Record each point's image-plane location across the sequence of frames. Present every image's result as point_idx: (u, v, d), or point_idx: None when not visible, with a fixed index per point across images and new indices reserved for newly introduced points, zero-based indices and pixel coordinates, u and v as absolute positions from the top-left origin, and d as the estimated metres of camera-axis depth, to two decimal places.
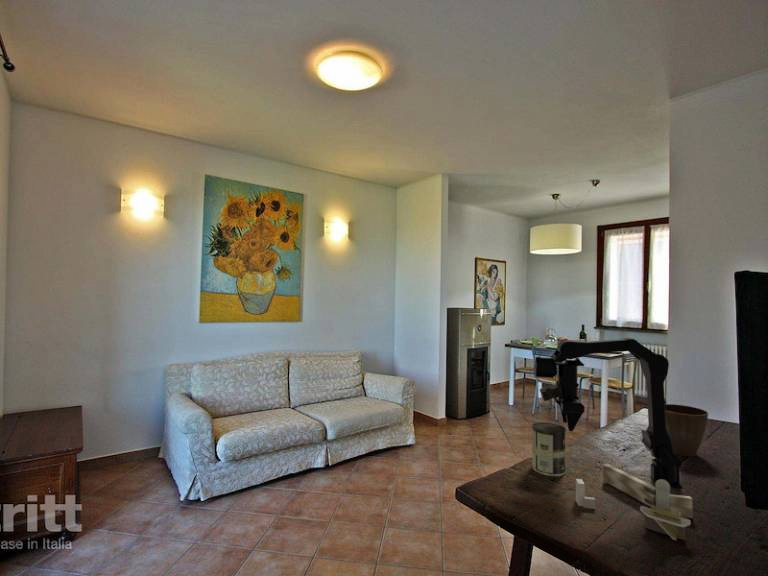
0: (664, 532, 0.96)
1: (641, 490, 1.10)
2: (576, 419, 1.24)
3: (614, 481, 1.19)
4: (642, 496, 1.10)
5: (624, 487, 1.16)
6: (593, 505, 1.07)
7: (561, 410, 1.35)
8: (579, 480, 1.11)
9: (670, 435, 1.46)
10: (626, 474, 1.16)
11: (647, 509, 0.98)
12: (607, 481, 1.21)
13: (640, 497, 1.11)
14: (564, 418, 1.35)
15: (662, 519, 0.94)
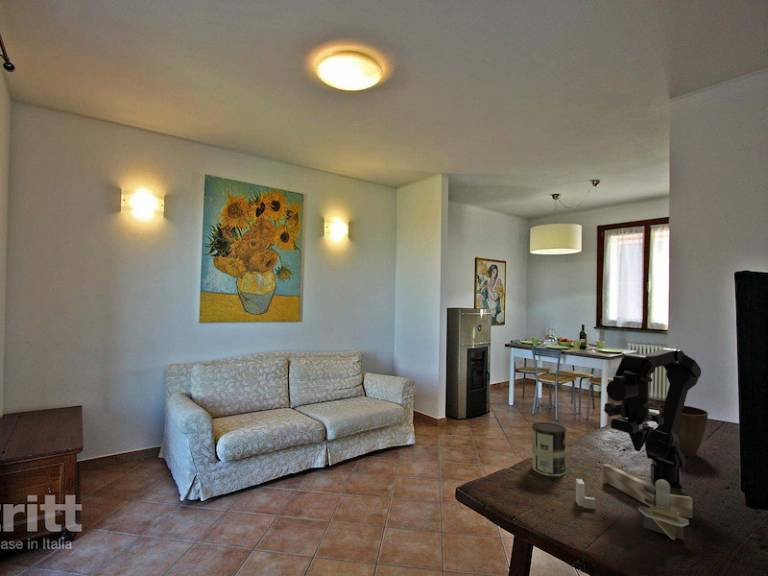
0: (662, 532, 0.96)
1: (641, 490, 1.10)
2: (639, 438, 1.15)
3: (614, 481, 1.19)
4: (642, 496, 1.10)
5: (624, 487, 1.16)
6: (593, 505, 1.07)
7: None
8: (579, 480, 1.11)
9: None
10: (626, 474, 1.16)
11: (645, 509, 0.99)
12: (607, 481, 1.21)
13: (640, 497, 1.11)
14: None
15: (660, 519, 0.94)
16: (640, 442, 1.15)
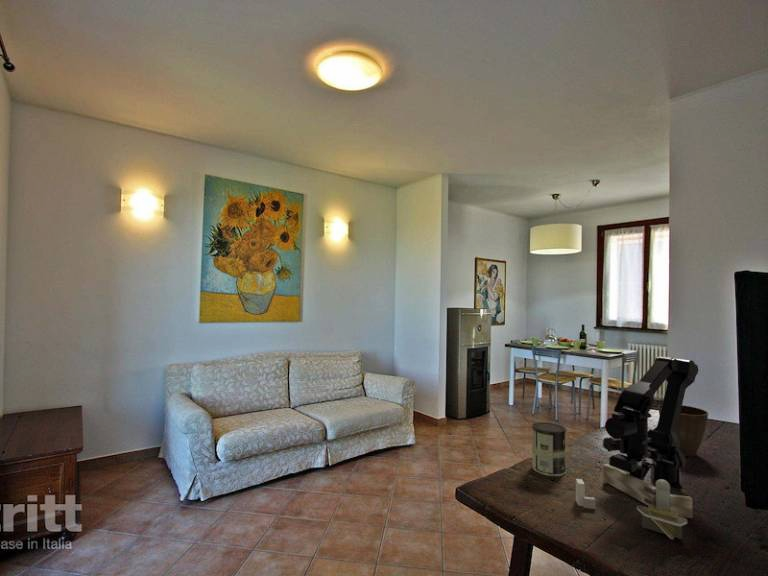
0: (661, 531, 0.96)
1: (641, 490, 1.10)
2: (638, 475, 1.15)
3: (614, 481, 1.19)
4: (641, 496, 1.10)
5: (624, 487, 1.16)
6: (593, 505, 1.07)
7: None
8: (579, 480, 1.11)
9: None
10: (626, 474, 1.16)
11: (644, 508, 0.99)
12: (607, 481, 1.21)
13: (640, 497, 1.11)
14: None
15: (659, 518, 0.95)
16: None
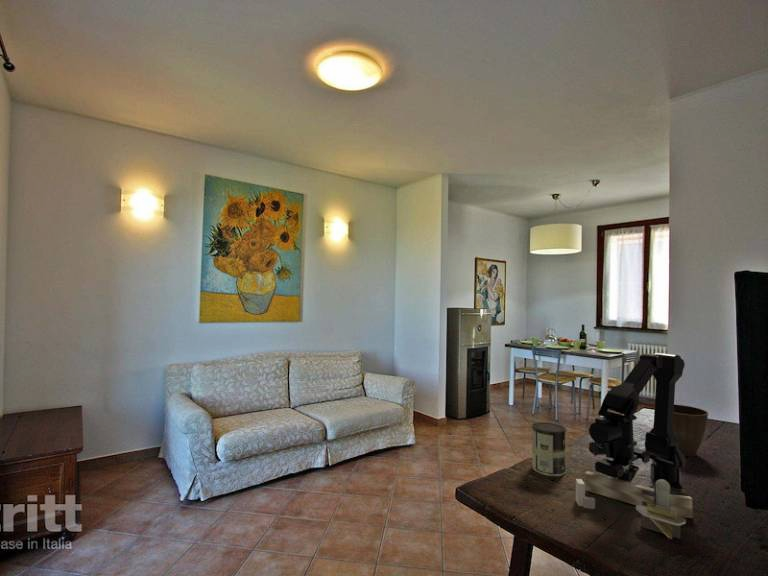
0: (660, 531, 0.97)
1: (637, 494, 1.08)
2: (626, 479, 1.12)
3: (601, 489, 1.14)
4: (638, 500, 1.08)
5: (614, 493, 1.12)
6: (593, 505, 1.07)
7: None
8: (579, 480, 1.11)
9: None
10: (615, 479, 1.12)
11: (642, 508, 0.99)
12: (591, 490, 1.15)
13: (636, 501, 1.08)
14: None
15: (658, 518, 0.95)
16: None
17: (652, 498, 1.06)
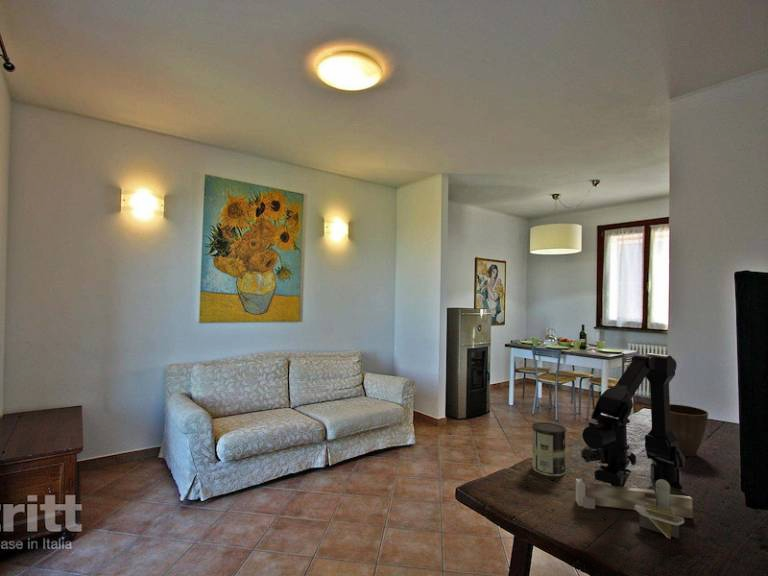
0: (658, 530, 0.97)
1: (640, 498, 1.06)
2: (620, 484, 1.09)
3: (604, 500, 1.08)
4: (641, 504, 1.06)
5: (618, 502, 1.07)
6: (593, 505, 1.07)
7: None
8: (579, 480, 1.11)
9: None
10: (616, 487, 1.08)
11: (641, 507, 0.99)
12: None
13: None
14: None
15: (656, 517, 0.95)
16: None
17: (654, 500, 1.05)
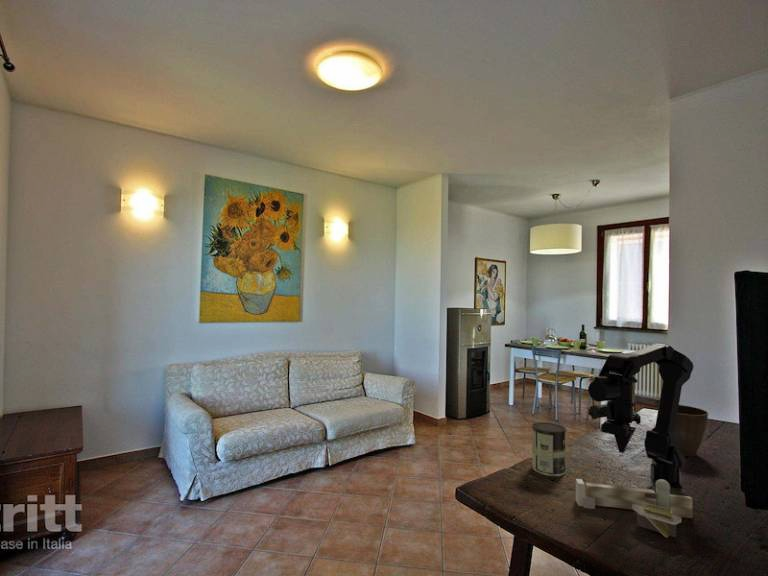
0: (656, 530, 0.97)
1: (640, 498, 1.06)
2: (625, 440, 1.14)
3: (604, 500, 1.08)
4: (641, 504, 1.06)
5: (618, 502, 1.07)
6: (593, 505, 1.07)
7: None
8: (579, 480, 1.11)
9: None
10: (616, 487, 1.08)
11: (639, 507, 0.99)
12: None
13: None
14: None
15: (654, 517, 0.95)
16: (626, 444, 1.14)
17: (654, 500, 1.05)
